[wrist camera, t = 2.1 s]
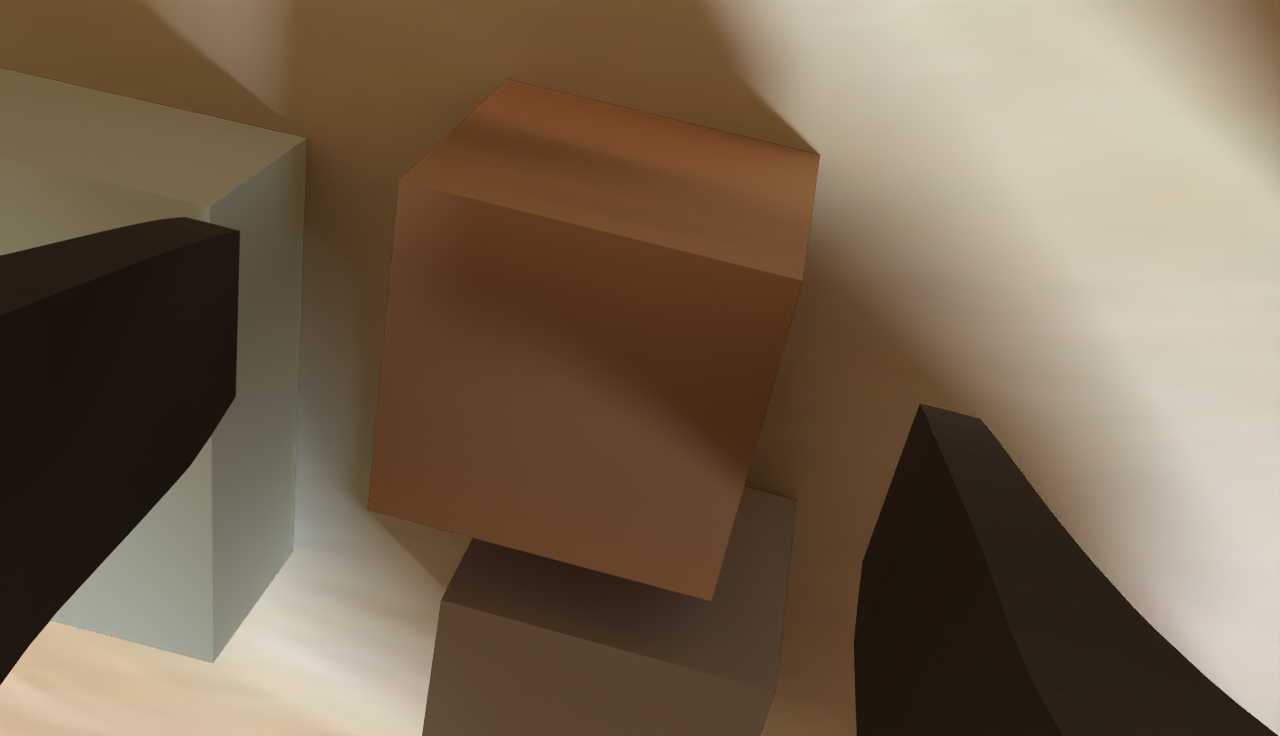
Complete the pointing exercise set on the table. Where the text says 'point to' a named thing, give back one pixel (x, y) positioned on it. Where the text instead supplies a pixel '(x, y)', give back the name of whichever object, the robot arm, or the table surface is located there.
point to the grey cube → (612, 642)
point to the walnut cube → (587, 332)
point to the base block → (266, 340)
